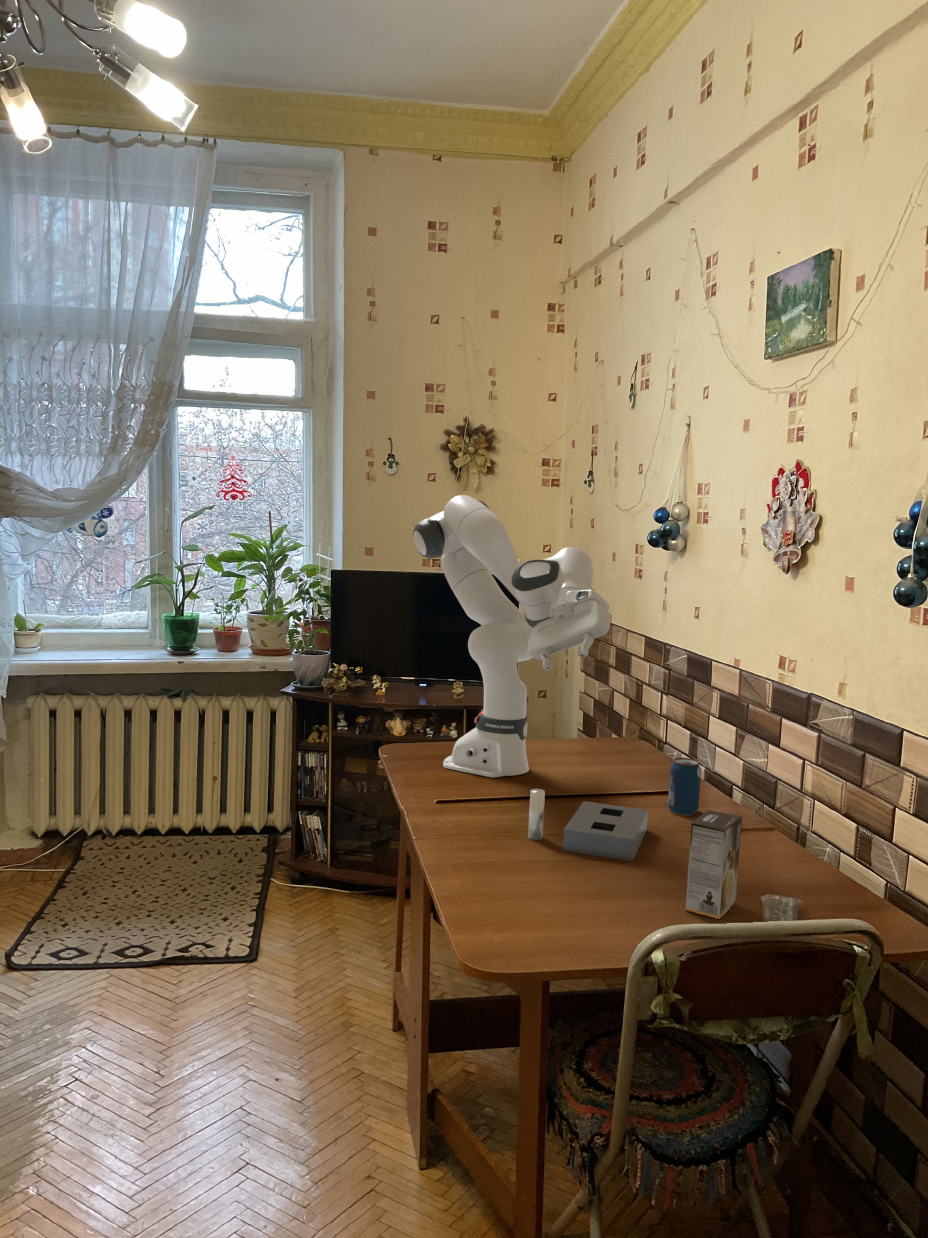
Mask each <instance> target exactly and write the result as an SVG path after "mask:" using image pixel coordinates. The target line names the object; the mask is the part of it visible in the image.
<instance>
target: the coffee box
mask: <svg viewBox="0 0 928 1238" xmlns="http://www.w3.org/2000/svg"><path fill="white" fill-rule="evenodd" d="M742 819H743V816H741V815H736V814H730V813H726V812H721V811H715V810H710V809H709V810H708V809H707V810H706V811H705V812H703V813H702V814H701V815H700V816H698V817H697V818H696V819H694V820H693V821H692V822H691V823H690V825H691V827H690V840H689V841H690V842H689V852H688V853H689V855H688V869H687V883H686V884H687V885H686V897H685V909H686V908H689V909H693V910H697V911H701V912H704V913H709V914H713V915H717V916H721V915H722V914H723V913H724V912H725V911H726V910H727V909H728V908H729V907H730V906H731V905H732V904H733V903H734V902H735V900H736V901H737V887H738V886H737V885H738V873H739V862H740V861H739V860H740V849H741V833H742V821H743V820H742ZM735 903H736V902H735Z"/></svg>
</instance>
